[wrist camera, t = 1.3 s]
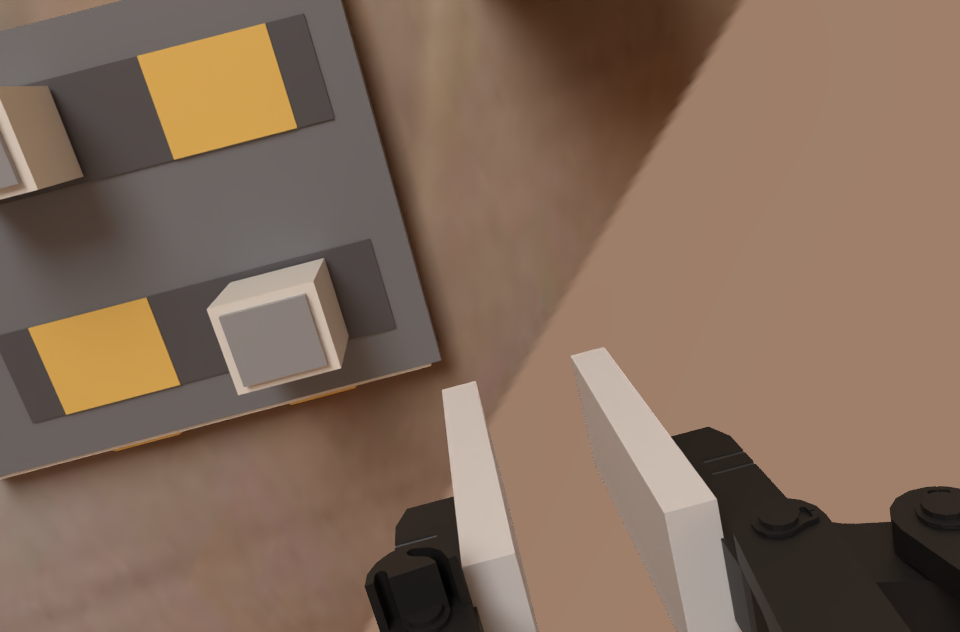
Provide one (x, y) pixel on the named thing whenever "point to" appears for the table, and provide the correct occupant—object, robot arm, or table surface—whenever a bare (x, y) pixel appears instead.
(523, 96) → the table surface
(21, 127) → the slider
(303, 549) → the table surface
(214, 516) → the table surface
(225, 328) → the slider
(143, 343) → the switch board
